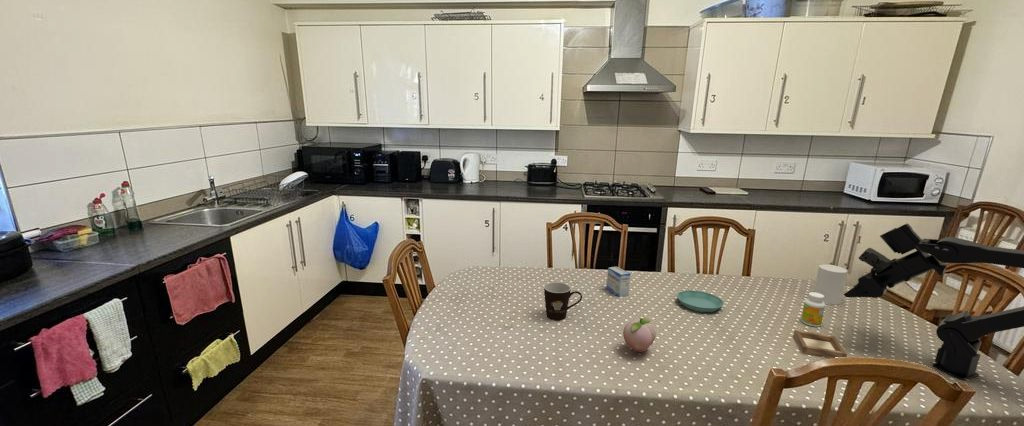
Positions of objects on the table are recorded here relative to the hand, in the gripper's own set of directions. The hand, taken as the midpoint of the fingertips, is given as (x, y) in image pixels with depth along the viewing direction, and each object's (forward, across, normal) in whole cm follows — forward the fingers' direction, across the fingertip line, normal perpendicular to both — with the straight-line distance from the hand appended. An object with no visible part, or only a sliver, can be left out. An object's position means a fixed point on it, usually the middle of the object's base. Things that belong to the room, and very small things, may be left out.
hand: (850, 291), depth 126 cm
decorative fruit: (+32, +59, -12) cm, 68 cm away
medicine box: (+52, +31, -33) cm, 69 cm away
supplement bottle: (+15, 0, +4) cm, 16 cm away
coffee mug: (+51, +62, -32) cm, 86 cm away
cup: (+17, -25, +2) cm, 30 cm away
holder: (+10, +16, +9) cm, 21 cm away
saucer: (+35, +17, -16) cm, 42 cm away
